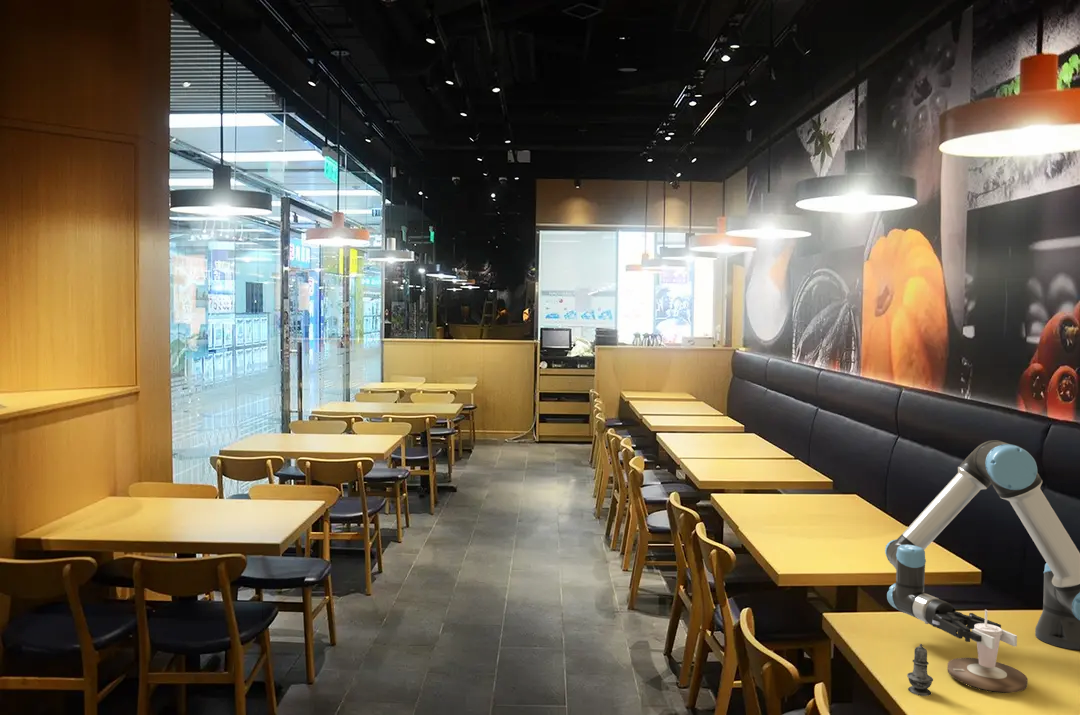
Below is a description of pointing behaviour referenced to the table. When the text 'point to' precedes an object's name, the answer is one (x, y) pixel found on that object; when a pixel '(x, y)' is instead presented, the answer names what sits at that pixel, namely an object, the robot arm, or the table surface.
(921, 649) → the salt shaker
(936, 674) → the table surface
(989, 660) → the smoothie
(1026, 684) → the turntable
